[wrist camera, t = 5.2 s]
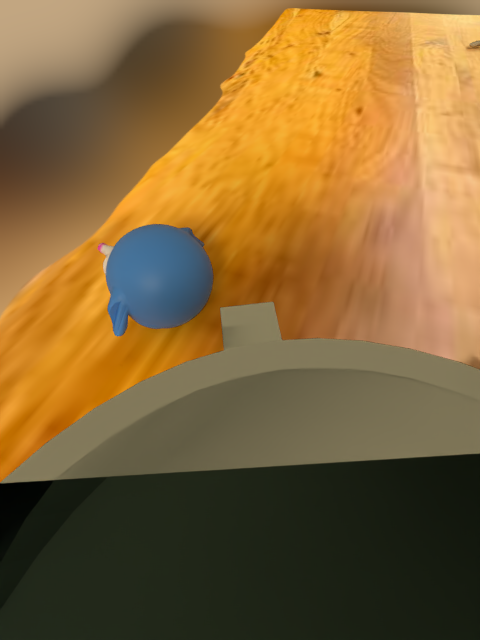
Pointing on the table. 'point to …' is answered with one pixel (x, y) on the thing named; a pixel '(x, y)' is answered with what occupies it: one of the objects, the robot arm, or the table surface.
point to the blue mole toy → (156, 277)
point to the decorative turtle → (475, 44)
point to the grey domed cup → (256, 500)
